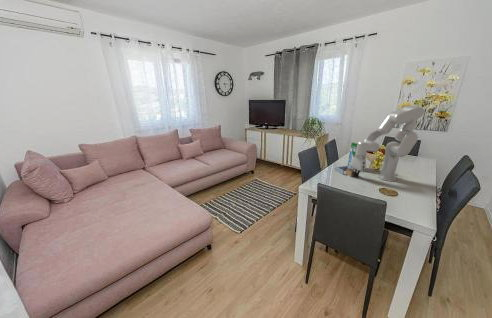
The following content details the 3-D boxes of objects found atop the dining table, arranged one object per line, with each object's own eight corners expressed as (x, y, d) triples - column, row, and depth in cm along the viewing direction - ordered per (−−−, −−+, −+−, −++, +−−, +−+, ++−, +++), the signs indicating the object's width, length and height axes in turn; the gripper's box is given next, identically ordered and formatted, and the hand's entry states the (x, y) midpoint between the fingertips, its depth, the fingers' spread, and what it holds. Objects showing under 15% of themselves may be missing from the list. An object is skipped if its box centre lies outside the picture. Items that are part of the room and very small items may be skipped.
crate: (351, 173, 176) (352, 168, 175) (356, 176, 171) (357, 170, 169) (345, 174, 175) (346, 169, 173) (350, 176, 169) (351, 171, 168)
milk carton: (362, 168, 187) (367, 143, 179) (355, 170, 184) (360, 144, 176) (354, 165, 195) (358, 141, 187) (347, 167, 192) (351, 142, 184)
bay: (346, 169, 186) (347, 165, 185) (354, 173, 177) (355, 169, 176) (334, 170, 183) (335, 166, 182) (342, 174, 174) (343, 170, 173)
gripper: (371, 158, 156) (366, 179, 162) (356, 153, 169) (352, 172, 175) (363, 159, 154) (359, 180, 160) (349, 154, 167) (345, 173, 173)
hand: (356, 176), depth 167 cm, fingers closed
